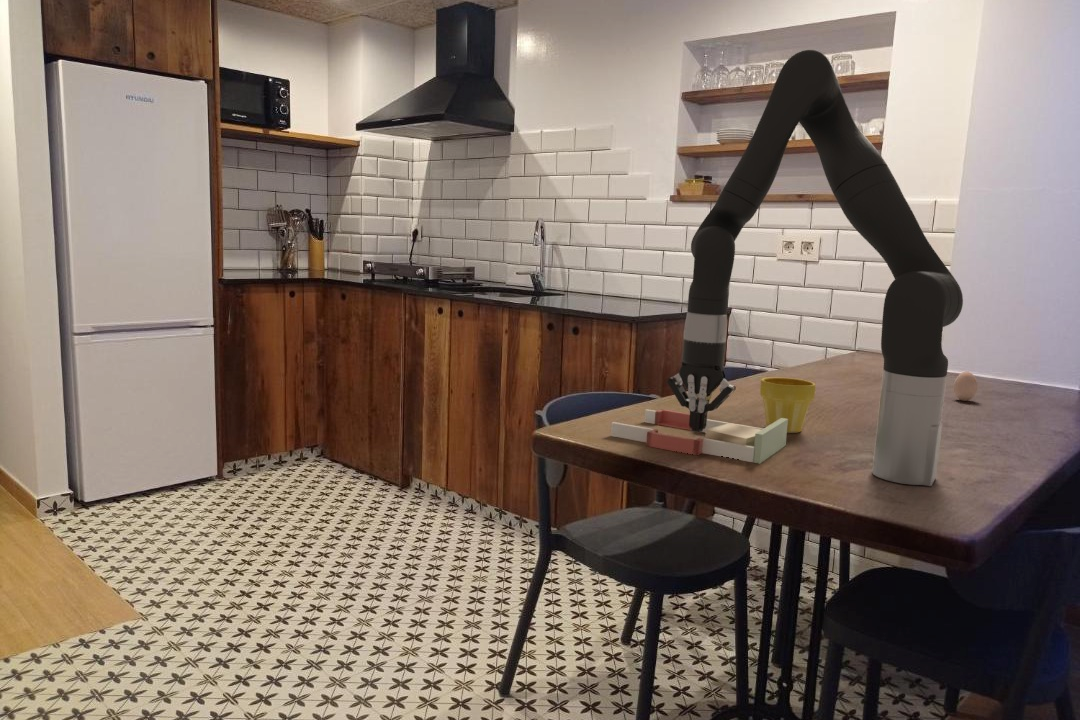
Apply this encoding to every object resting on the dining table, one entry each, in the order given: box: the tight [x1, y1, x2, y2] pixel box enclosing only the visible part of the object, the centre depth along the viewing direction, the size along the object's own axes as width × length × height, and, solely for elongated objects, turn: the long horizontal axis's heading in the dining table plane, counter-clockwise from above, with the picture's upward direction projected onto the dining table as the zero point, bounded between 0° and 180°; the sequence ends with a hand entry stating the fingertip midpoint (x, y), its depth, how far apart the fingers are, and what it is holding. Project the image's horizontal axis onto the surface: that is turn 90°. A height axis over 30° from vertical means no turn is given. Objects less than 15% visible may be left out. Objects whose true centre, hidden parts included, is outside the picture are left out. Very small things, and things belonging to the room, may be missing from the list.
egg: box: [952, 371, 979, 402], centre depth 202 cm, size 5×5×7 cm
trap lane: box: [610, 408, 788, 465], centre depth 149 cm, size 28×20×5 cm
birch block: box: [704, 422, 760, 447], centre depth 143 cm, size 8×8×4 cm
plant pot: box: [759, 376, 816, 434], centre depth 161 cm, size 10×10×10 cm
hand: (696, 431), depth 150 cm, fingers closed
